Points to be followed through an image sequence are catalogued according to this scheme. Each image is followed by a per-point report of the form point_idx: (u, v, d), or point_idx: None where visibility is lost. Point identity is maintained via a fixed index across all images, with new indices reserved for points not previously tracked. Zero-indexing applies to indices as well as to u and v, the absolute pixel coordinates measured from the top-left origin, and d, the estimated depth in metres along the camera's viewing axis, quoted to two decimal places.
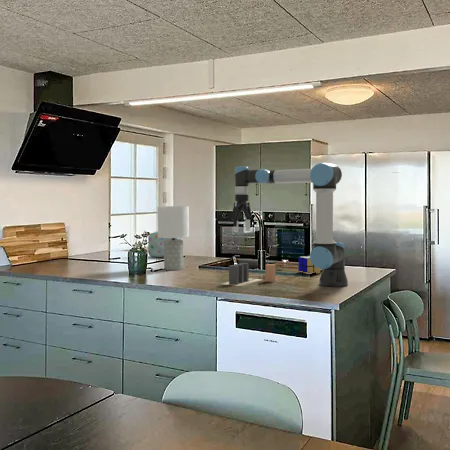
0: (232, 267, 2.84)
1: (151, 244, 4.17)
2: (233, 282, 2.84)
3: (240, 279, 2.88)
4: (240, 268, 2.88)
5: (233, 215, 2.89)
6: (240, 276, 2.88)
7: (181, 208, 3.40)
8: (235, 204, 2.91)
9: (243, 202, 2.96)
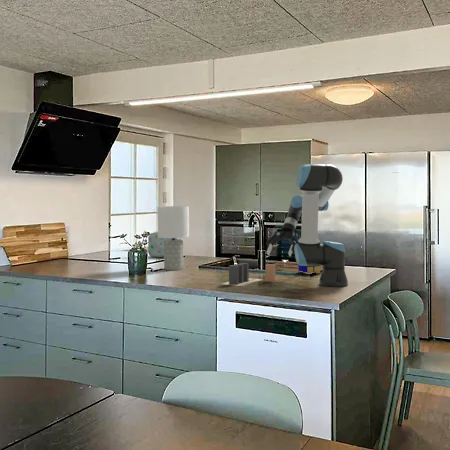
0: (232, 267, 2.84)
1: (151, 244, 4.17)
2: (233, 282, 2.84)
3: (240, 279, 2.88)
4: (240, 268, 2.88)
5: None
6: (240, 276, 2.88)
7: (181, 208, 3.40)
8: None
9: (286, 231, 3.10)
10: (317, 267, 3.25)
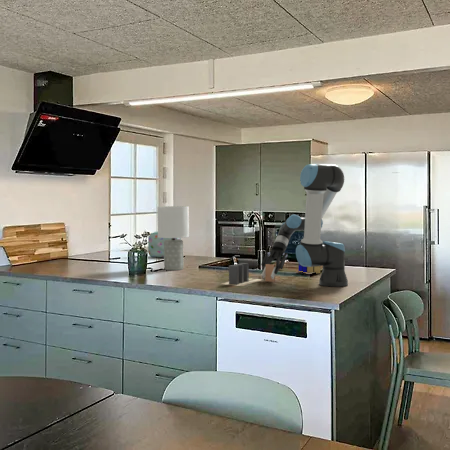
0: (232, 267, 2.84)
1: (151, 244, 4.17)
2: (233, 282, 2.84)
3: (240, 279, 2.88)
4: (240, 268, 2.88)
5: None
6: (240, 276, 2.88)
7: (181, 208, 3.40)
8: None
9: (277, 250, 3.00)
10: (317, 267, 3.25)
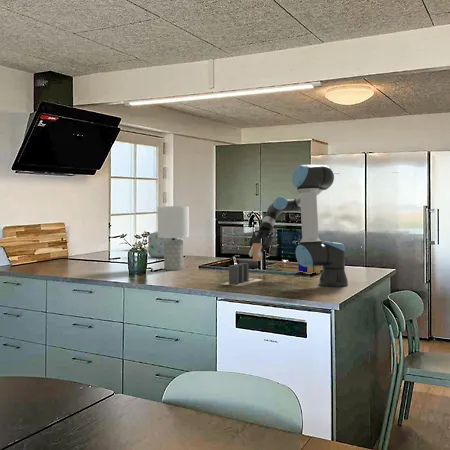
0: (232, 267, 2.84)
1: (151, 244, 4.17)
2: (233, 282, 2.84)
3: (240, 279, 2.88)
4: (240, 268, 2.88)
5: None
6: (240, 276, 2.88)
7: (181, 208, 3.40)
8: None
9: (263, 230, 3.15)
10: (317, 267, 3.25)
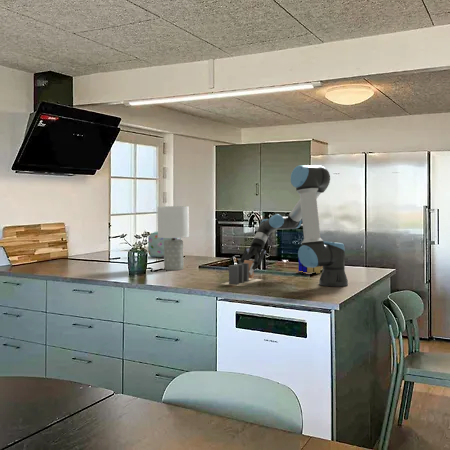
0: (232, 267, 2.84)
1: (151, 244, 4.17)
2: (233, 282, 2.84)
3: (240, 279, 2.88)
4: (240, 268, 2.88)
5: None
6: (240, 276, 2.88)
7: (181, 208, 3.40)
8: None
9: (255, 246, 3.06)
10: (317, 267, 3.25)
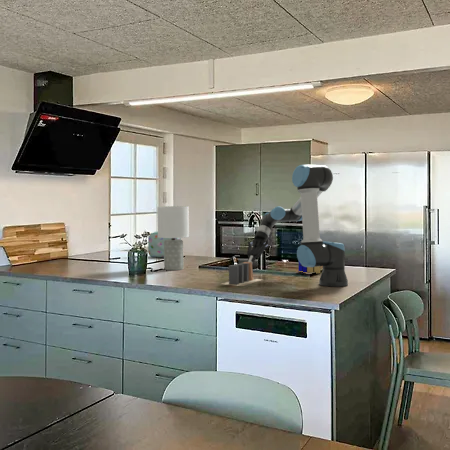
0: (232, 267, 2.84)
1: (151, 244, 4.17)
2: (233, 282, 2.84)
3: (240, 279, 2.88)
4: (240, 268, 2.88)
5: None
6: (240, 276, 2.88)
7: (181, 208, 3.40)
8: None
9: (259, 239, 3.09)
10: (317, 267, 3.25)
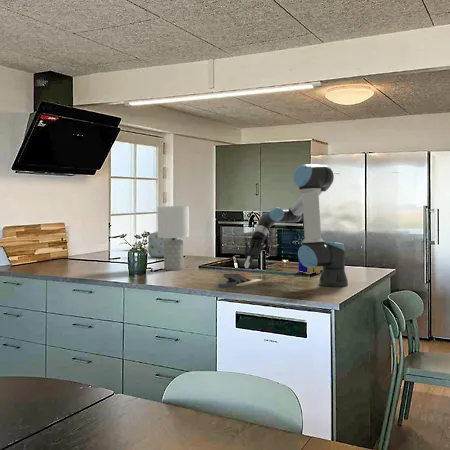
0: None
1: (151, 244, 4.17)
2: None
3: (237, 281, 2.85)
4: (231, 278, 2.80)
5: None
6: None
7: (181, 208, 3.40)
8: (246, 245, 3.08)
9: (256, 239, 3.06)
10: (317, 267, 3.25)
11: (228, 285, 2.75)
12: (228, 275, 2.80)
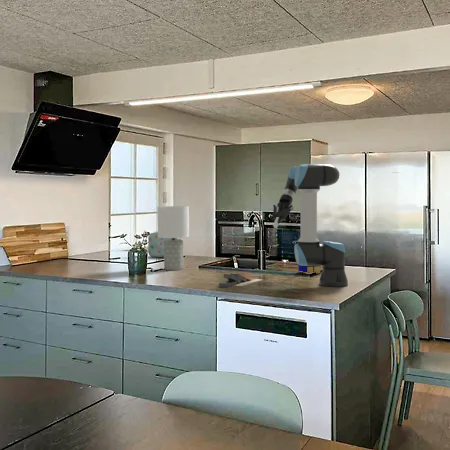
0: None
1: (151, 244, 4.17)
2: None
3: (237, 281, 2.85)
4: (231, 279, 2.80)
5: None
6: None
7: (181, 208, 3.40)
8: (274, 207, 3.20)
9: (284, 202, 3.18)
10: (317, 267, 3.25)
11: (228, 285, 2.75)
12: (228, 276, 2.80)
